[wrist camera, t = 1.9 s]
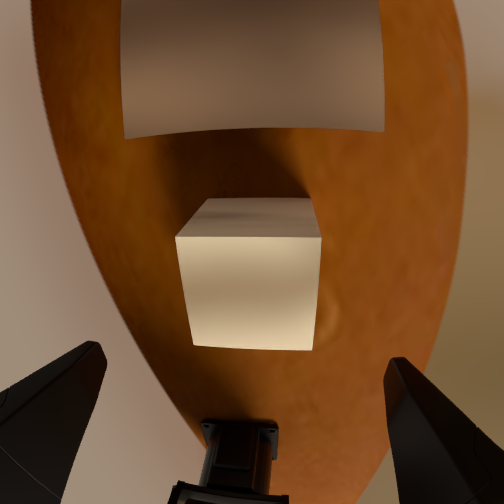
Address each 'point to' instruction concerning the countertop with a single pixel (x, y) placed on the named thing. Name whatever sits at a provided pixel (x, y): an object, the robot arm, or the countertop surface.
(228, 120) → the base
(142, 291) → the countertop surface
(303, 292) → the block
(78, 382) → the robot arm
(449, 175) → the countertop surface
